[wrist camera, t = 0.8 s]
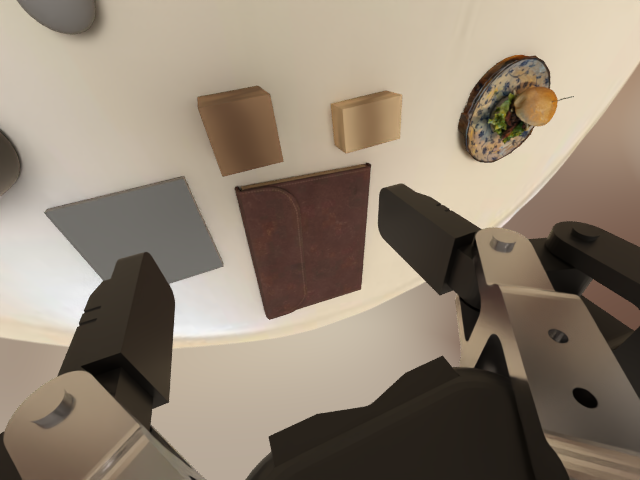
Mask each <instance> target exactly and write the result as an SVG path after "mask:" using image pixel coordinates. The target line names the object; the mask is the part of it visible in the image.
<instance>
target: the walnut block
mask: <svg viewBox="0 0 640 480" xmlns="http://www.w3.org/2000/svg"><path fill="white" fill-rule="evenodd" d="M197 99H198V110H199V112H200V115H201V118H202V121H203V124H204V126H205V129H206V132H207V135H208V138H209V140H210V143H211V146H212V149H213V151H214V154H215V157H216V160H217V163H218V165H219V168H220V171H221V174H222V176H223V177H224V176H228V175H232V174H236V173H240V172H244V171H248V170H252V169H256V168H260V167H264V166H268V165H272V164H276V163H280V162H284V161H283V156H282V151H281V146H280V141H279V136H278V132H277V127H276V122H275V117H274V112H273V107H272V102H271V97H270V94H269V93H267V92H266V91H265V90H263V89H262V88H260V87H259V86H254V87H248V88H243V89H238V90H232V91H227V92H221V93H216V94H211V95H205V96H200V97H197Z"/></svg>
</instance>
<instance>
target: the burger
mask: <svg viewBox="0 0 640 480" xmlns="http://www.w3.org/2000/svg"><path fill="white" fill-rule="evenodd" d="M573 97H574V96H573ZM568 98H571V97H568ZM563 99H567V98H563ZM560 100H562V99H560ZM557 101H559V100H557V97H556V95H555V92H553V91H552V90H550V71H549V69H548V67H547V66H546V64H545V62H544V61H543V60H541V59H539V58H538V57H536V56H524V55H514V56H511V57H508V58H506V59H504V60H502V61H501V62H499V63H497V64H496V65H495V66H494V67H492V68H491V69H490V70H489V71H488V72H487V73H486V74H485V75H484V76H483V77H482V78H481V79H480V80H479V82H478V83H477V84H476V86H475V87H474V90H472V91H471V93H470V96H469V99H468V103H467V106H466V107H465V109H464V113H462V115H461V119H460V120H459V124H458V129H459V130H460V131H461V132H462V133H463V134H464V136H465V145H466V150H467V151H468V152H469V153H470V154H471V155H472V157H473V158H474V159H475V160H477V161H479V162H484V163H491V162H495V161H497V160H499V159H501V158H503V157H504V156H506V155H508V154H510V153H512V151H514V150H515V149H516V148H518V147H519V146H520V145H521V144H522V143H523V142H524V141H525V140H526V139H527V138H528V137H529V135H531V133H532V130H533V128H534V126H542V125H546V124H547V123H548V122H549V121H550V120H551V118H552V117H553V115H554V113H555V111H556V108H557Z"/></svg>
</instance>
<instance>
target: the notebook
mask: <svg viewBox="0 0 640 480" xmlns="http://www.w3.org/2000/svg"><path fill="white" fill-rule="evenodd" d="M370 170H371V164H369V163H366V164H362V165H357V166H351V167H346V168H340V169H335V170H330V171H324V172H319V173H313V174H308V175H302V176H297V177H291V178H286V179H280V180H275V181H269V182H264V183H258V184H253V185H247V186H242V187H241V190H242V191H240V190H239V187H238V186H237V187H235V190H236V195H237V199H238V203H239V207H240V211H241V215H242V219H243V223H244V228H245V232H246V236H247V240H248V244H249V248H250V252H251V256H252V260H253V265H254V269H255V273H256V277H257V281H258V285H259V289H260V293H261V297H262V302H263V306H264V310H265V314H266V317H267V318H268V319H269V320H270V319H273V318H277V317H280V316H283V315H286V314H289V313H291V312H293V311H295V310H297V309H300V308H303V307H307V306H310V305H313V304H316V303H319V302H322V301H326V300H329V299H332V298H335V297H338V296H341V295H345V294H348V293H351V292H354V291H357V290H360V289H361V284H362V271H363V259H364V246H365V233H366V221H367V208H368V196H369V183H370Z"/></svg>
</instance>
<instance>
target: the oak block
mask: <svg viewBox="0 0 640 480" xmlns="http://www.w3.org/2000/svg"><path fill="white" fill-rule="evenodd" d="M401 107H402V95H400V94H397V93H393V92H389V91H383V92H378V93H374V94H370V95H366V96H362V97H357V98H353V99H349V100H345V101H341V102H336V103H332V104H331V111H332V121H333V132H334V142H335V146H337V147H338V148H339V149H341V150H342V151H343V152H345V153H350V152H353V151H357V150H360V149H364V148H368V147H371V146H375V145H378V144H382V143H385V142H389V141H393V140H396V139H400V127H401Z"/></svg>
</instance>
